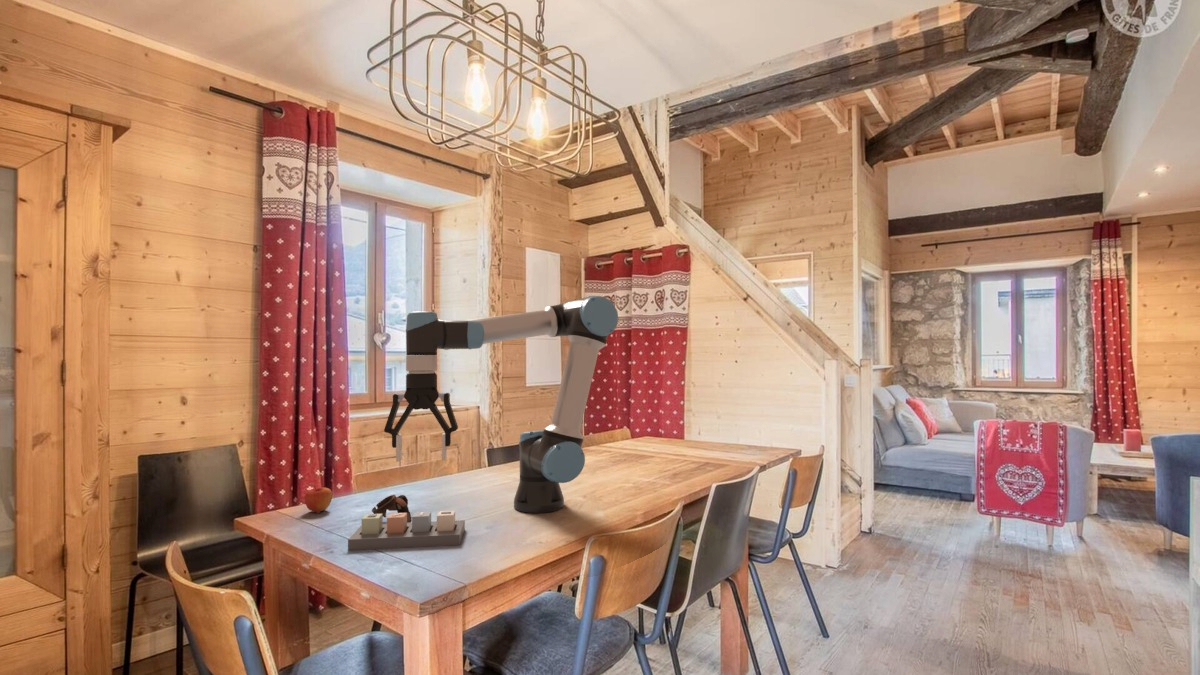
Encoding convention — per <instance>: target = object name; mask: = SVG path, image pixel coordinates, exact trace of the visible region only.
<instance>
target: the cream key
mask: <svg viewBox="0 0 1200 675" xmlns="http://www.w3.org/2000/svg"><path fill="white" fill-rule="evenodd" d="M436 521H437V531H453V530H454V528H455V521H456V510H442V511H441V510H440V511H439V510H438V513H437V515H436Z"/></svg>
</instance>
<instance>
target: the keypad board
mask: <svg viewBox="0 0 1200 675" xmlns="http://www.w3.org/2000/svg"><path fill="white" fill-rule="evenodd" d="M465 524H466V520H464V519H463V520H455V528H454V530H453V531H437V520H436V521H431V529H430V531H429V532H412V522H408V523H407V529H406V531H405V532H404V533H387V523H383V530H382V531H381V532H380V533H379V534H363V535H362V524H361V525H360V527H359V528H357V530H356V531H355V532H354V533H352V534H351V536H350V537H349V538H348V539H347V551H358V550H362V551H363V550H380V549H381V550H382V549H400V548H401V549H402V548H403V549H404V548H425V547H426V548H427V547H443V546H444V547H445V546H461V542H462V538H463V535H464V533H465V530H466V529H465V528H466V525H465Z"/></svg>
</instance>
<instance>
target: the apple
mask: <svg viewBox="0 0 1200 675" xmlns="http://www.w3.org/2000/svg"><path fill="white" fill-rule="evenodd" d="M332 499H333V492H332V490H331V489H330V488H328V487H321V486H320V487H316V485H314V488H311V489H309V490H307V491H306V492H305V495H304V504H305V506H306V508H307V509H308V510H310V511H311V512H313V513H317V514H318V513H321V512H324V511H326V510H327V509H328V508H329V506H330V504H331V502H332Z"/></svg>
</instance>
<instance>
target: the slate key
mask: <svg viewBox="0 0 1200 675" xmlns="http://www.w3.org/2000/svg"><path fill="white" fill-rule="evenodd" d="M411 517H412V518H411V523H412V532H429V531H430V529H431V522H432V511H416V512H414V513H413V515H412V516H411Z"/></svg>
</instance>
